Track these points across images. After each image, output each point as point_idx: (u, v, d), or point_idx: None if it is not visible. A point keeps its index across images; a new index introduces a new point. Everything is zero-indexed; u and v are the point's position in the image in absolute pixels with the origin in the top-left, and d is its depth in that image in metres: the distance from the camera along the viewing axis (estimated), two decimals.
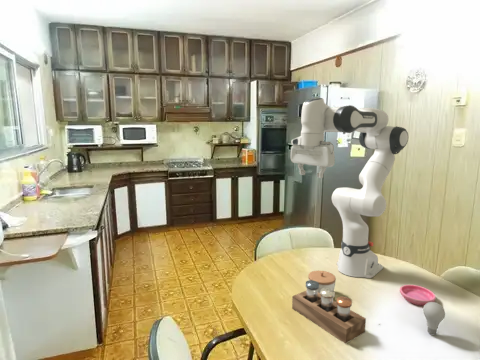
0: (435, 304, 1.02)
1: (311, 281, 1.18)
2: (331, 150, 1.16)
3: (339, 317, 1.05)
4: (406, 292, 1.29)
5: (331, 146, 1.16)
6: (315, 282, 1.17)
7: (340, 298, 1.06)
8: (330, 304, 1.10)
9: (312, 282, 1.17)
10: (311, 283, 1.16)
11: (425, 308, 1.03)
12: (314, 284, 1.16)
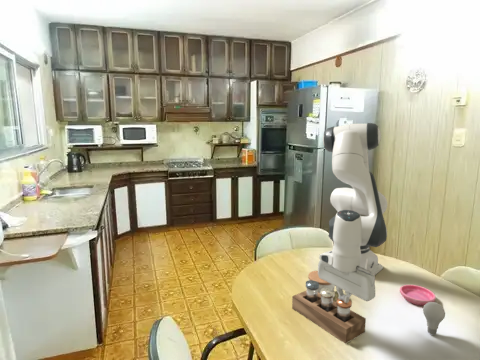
0: (435, 304, 1.02)
1: (311, 281, 1.18)
2: (372, 282, 0.95)
3: (339, 318, 1.05)
4: (406, 292, 1.29)
5: (372, 277, 0.95)
6: (315, 282, 1.17)
7: None
8: (330, 304, 1.10)
9: (312, 282, 1.17)
10: (311, 283, 1.16)
11: (425, 308, 1.03)
12: (314, 284, 1.16)
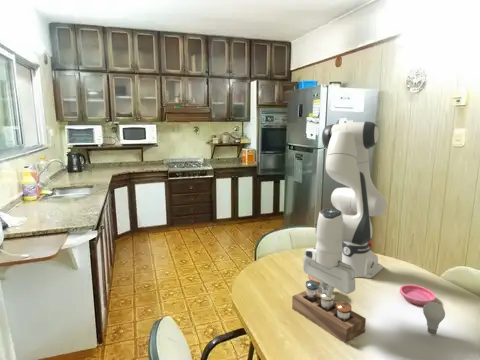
0: (435, 304, 1.02)
1: (311, 281, 1.18)
2: (352, 276, 1.01)
3: None
4: (406, 292, 1.29)
5: (352, 272, 1.01)
6: (315, 282, 1.17)
7: (340, 303, 1.06)
8: (330, 307, 1.10)
9: (312, 282, 1.17)
10: (311, 283, 1.16)
11: (425, 308, 1.03)
12: (314, 284, 1.16)
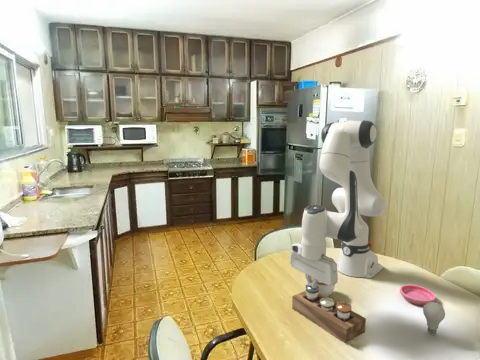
0: (435, 304, 1.02)
1: None
2: (334, 269, 1.07)
3: None
4: (406, 292, 1.29)
5: (334, 264, 1.06)
6: None
7: (340, 303, 1.06)
8: None
9: None
10: None
11: (425, 308, 1.03)
12: None
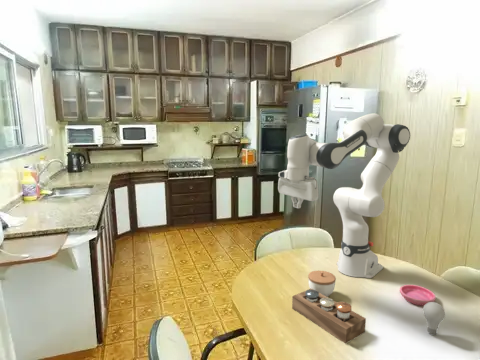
0: (435, 304, 1.02)
1: (311, 290, 1.19)
2: (315, 185, 1.22)
3: None
4: (406, 292, 1.29)
5: (315, 182, 1.22)
6: (314, 292, 1.18)
7: (340, 303, 1.06)
8: None
9: (311, 292, 1.17)
10: (311, 292, 1.17)
11: (425, 308, 1.03)
12: (314, 293, 1.16)
